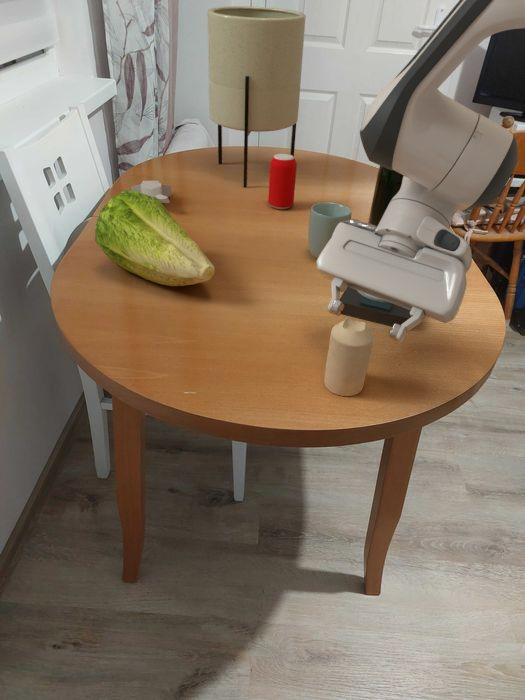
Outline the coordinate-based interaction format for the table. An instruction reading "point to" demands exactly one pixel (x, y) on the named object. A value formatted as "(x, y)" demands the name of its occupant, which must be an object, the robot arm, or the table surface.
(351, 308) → the scale
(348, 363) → the candle
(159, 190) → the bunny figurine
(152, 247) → the lettuce
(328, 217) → the cup
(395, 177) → the dark wine bottle
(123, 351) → the table surface
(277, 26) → the planter
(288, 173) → the beverage can
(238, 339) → the table surface
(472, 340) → the table surface
